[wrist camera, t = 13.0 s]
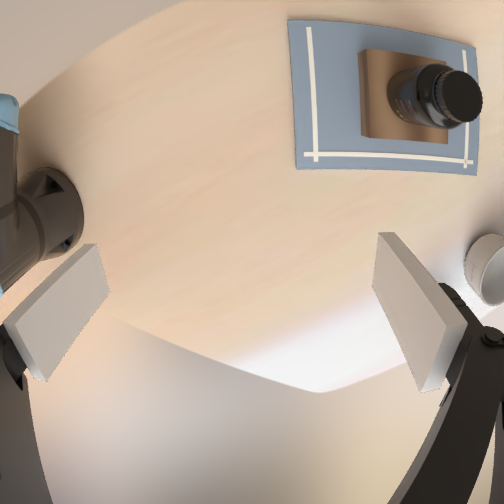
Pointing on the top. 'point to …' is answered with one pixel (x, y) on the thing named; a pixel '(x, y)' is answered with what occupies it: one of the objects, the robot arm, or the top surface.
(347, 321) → the top surface
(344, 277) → the top surface
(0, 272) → the robot arm
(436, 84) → the supplement bottle
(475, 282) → the teacup
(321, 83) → the board
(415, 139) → the walnut plinth
